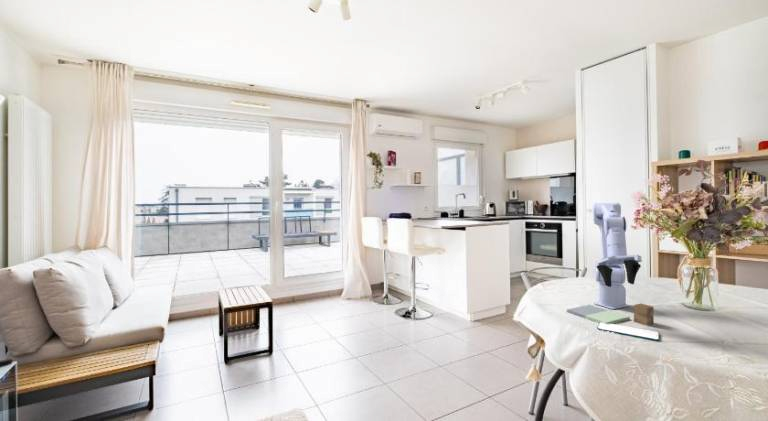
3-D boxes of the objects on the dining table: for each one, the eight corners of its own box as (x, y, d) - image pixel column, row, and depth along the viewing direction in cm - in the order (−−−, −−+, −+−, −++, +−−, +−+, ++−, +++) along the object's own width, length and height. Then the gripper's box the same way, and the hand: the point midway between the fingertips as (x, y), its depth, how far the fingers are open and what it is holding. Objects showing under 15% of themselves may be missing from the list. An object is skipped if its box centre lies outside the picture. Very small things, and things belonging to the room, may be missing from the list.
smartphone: (597, 331, 112) (658, 342, 102) (597, 328, 112) (658, 339, 102) (600, 324, 119) (658, 334, 109) (600, 321, 119) (658, 331, 109)
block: (640, 320, 120) (641, 303, 120) (653, 323, 117) (653, 306, 117) (633, 321, 119) (634, 305, 119) (646, 325, 115) (646, 308, 115)
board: (589, 307, 135) (589, 304, 135) (629, 319, 121) (629, 316, 121) (566, 312, 130) (566, 309, 130) (605, 325, 116) (605, 322, 116)
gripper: (589, 248, 126) (591, 283, 120) (630, 239, 113) (634, 278, 107) (602, 254, 128) (604, 289, 122) (643, 246, 115) (648, 284, 110)
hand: (619, 284), depth 115 cm, fingers open, 7 cm apart
